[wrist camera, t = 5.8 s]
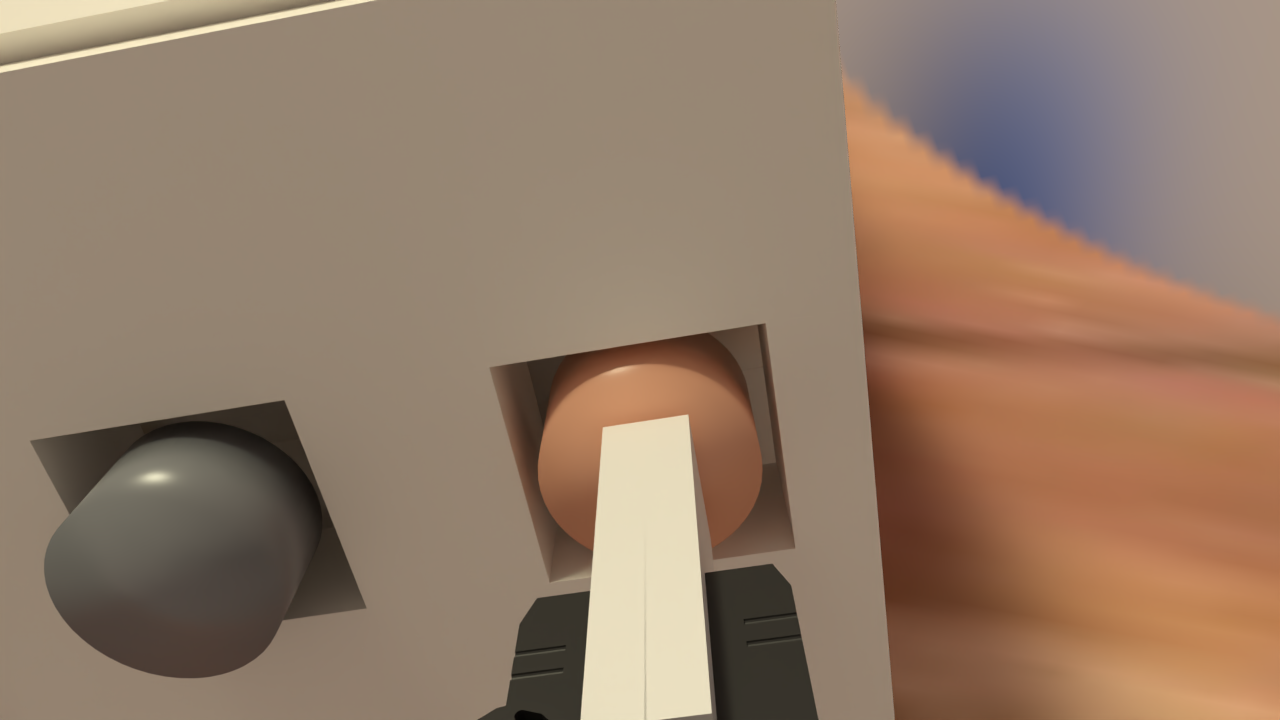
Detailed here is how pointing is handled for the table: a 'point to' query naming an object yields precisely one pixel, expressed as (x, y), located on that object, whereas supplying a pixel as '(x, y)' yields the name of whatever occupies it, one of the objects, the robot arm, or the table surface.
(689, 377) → the terracotta button
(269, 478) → the charcoal button
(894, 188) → the table surface
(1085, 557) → the table surface
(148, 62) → the button console
